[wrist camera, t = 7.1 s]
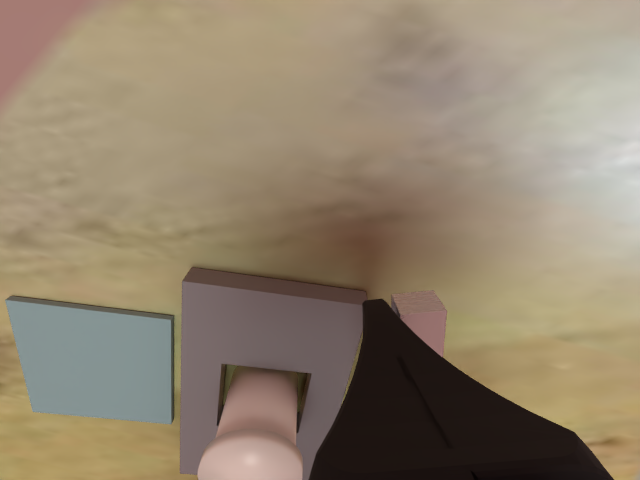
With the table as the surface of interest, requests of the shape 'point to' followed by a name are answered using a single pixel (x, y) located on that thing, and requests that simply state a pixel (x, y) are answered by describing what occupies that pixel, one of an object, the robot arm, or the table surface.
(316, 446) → the socket block
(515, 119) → the table surface
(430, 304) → the clip
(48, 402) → the mat
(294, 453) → the plug
